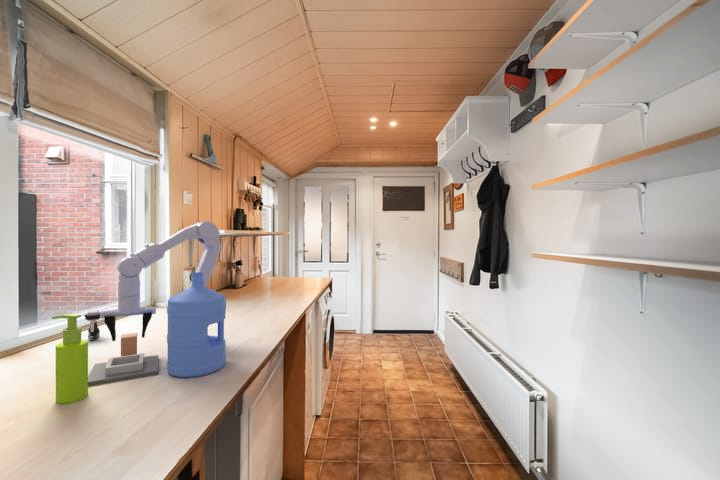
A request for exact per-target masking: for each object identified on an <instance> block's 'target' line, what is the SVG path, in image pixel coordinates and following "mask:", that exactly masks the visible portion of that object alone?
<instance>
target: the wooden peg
mask: <svg viewBox="0 0 720 480" xmlns="http://www.w3.org/2000/svg"><path fill="white" fill-rule="evenodd" d="M135 354H138V332H137V333H136V332H134V333H125V334H121V337H120V357H121V356H128V355H135Z"/></svg>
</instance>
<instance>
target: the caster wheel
mask: <svg viewBox="0 0 720 480" xmlns="http://www.w3.org/2000/svg"><path fill="white" fill-rule="evenodd" d="M100 312H101V311H100V310H90V311H87V313H86V314H84V315H83V317H85V320H86V321H88V322H89V323H90V325H89V328H88V331H87V333H88V334H87V335H88V336H87V338H88V341H95V340H96V339H97V338H98V339H99V337H100V332H101V331H100V328H99V327H98V322H97V321H98V320H101V319H100Z"/></svg>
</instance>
